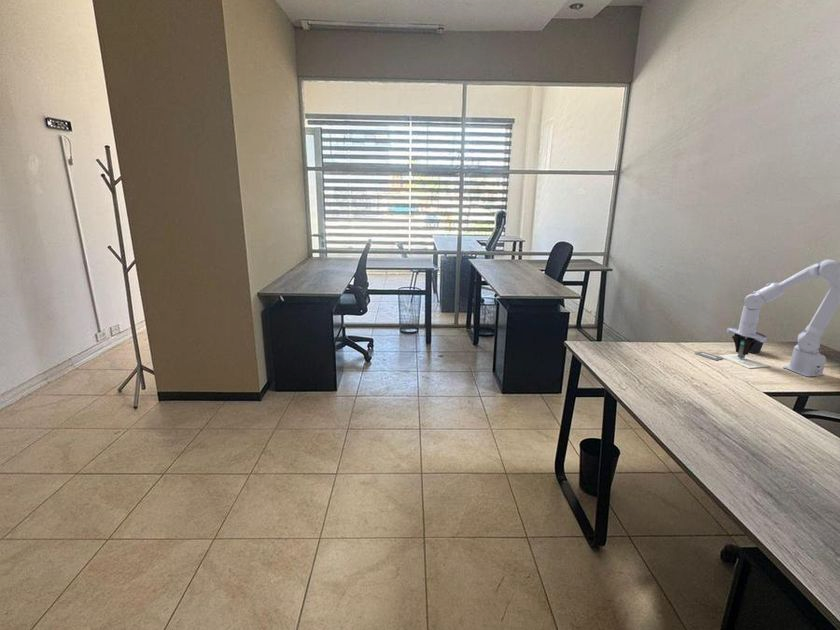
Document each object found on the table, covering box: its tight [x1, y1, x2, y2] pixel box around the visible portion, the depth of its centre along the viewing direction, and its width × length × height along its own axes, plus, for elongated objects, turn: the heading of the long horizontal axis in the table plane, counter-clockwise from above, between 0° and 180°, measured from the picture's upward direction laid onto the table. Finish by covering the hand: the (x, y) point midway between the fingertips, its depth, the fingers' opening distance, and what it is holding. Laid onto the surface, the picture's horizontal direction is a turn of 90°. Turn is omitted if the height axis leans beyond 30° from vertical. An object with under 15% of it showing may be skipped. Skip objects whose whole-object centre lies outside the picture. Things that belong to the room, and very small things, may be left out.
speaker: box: [745, 332, 767, 355], centre depth 185 cm, size 8×6×10 cm
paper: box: [718, 353, 770, 370], centre depth 175 cm, size 14×10×1 cm
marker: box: [737, 340, 746, 358], centre depth 176 cm, size 3×3×7 cm
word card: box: [694, 351, 724, 361], centre depth 181 cm, size 9×5×1 cm, turn 26°
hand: (741, 353), depth 177 cm, fingers closed on marker, 2 cm apart
